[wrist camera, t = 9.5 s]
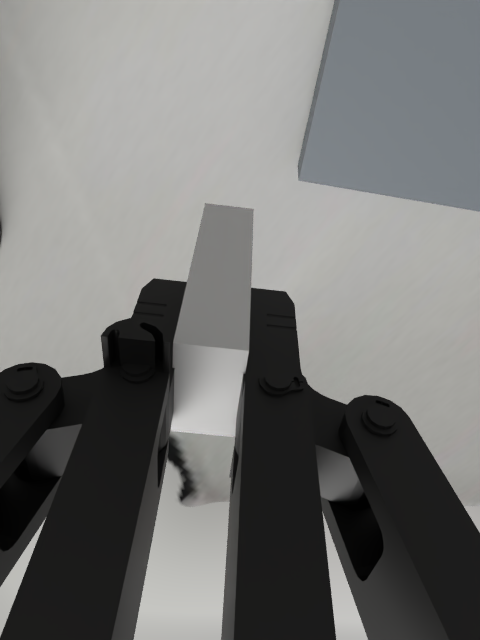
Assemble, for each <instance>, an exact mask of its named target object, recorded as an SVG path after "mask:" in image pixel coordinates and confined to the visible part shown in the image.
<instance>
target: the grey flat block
mask: <svg viewBox="0 0 480 640" xmlns="http://www.w3.org/2000/svg"><path fill="white" fill-rule="evenodd" d="M298 178H299V181H304V182H310V183H316V184H322V185H328V186H334V187H339V188H345V189H351V190H357V191H363V192H369V193H375V194H380V195H386V196H392V197H398V198H404V199H410V200H415V201H421V202H427V203H433V204H439V205H445V206H451V207H456V208H462V209H468V210H474V211H480V0H335V2H334V7H333V11H332V15H331V20H330V24H329V29H328V33H327V38H326V42H325V47H324V51H323V56H322V60H321V65H320V69H319V74H318V78H317V82H316V87H315V91H314V96H313V100H312V105H311V109H310V114H309V118H308V123H307V127H306V132H305V136H304V141H303V145H302V149H301V154H300V158H299V163H298Z"/></svg>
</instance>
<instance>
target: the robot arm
mask: <svg viewBox="0 0 480 640" xmlns="http://www.w3.org/2000/svg"><path fill="white" fill-rule="evenodd" d="M253 210H254V209H249V208H241V207H232V206H223V205H215V204H206V203H205V207H204V211H203V216H202V220H201V224H200V229H199V233H198V237H197V242H196V246H195V250H194V255H193V259H192V263H191V267H190V272H189V276H188V280H187V282H181V281H172V280H163V279H153V280H152V281H150V282H149V283H148V284H147V285H146V286H144V287H143V288H142V290H141V293H140V295H139V298H138V301H137V304H136V306H135V309H134V313H133V315H132V317H131V318H129V319H125V320H122V321H118V322H116V323H114V324H112V325H111V326H109V327H107V328H106V330H105V331H104V332H103V334H102V335H101V342H102V351H103V361H104V368H102V369H100V370H98V371H95V372H93V373H88V374H84V375H78V376H71V377H64V378H61V377H60V375H59V374H58V372H57V371H56V370H55V369H54V368H52V367H50V366H48V365H46V364H41V363H33V362H32V363H24V364H18V365H15V366H12V367H10V368H7V369H5V370H3V371H2V372H0V586H1V585H2V583H3V582H4V580H5V579H6V577H7V576H8V574H9V573H10V571H11V570H12V568H13V567H14V565H15V564H16V562H17V561H18V559H19V558H20V556H21V555H22V553H23V551H24V550H25V549H26V547H27V545H28V544H29V542H30V541H31V539H32V538H33V536H34V535H35V533H36V532H37V530H38V529H39V527H40V526H41V524H42V522H43V521H44V520H45V518H46V520H45V523H44V525H43V528H42V530H41V533H40V535H39V538H38V541H37V543H36V546H35V548H34V551H33V554H32V556H31V559H30V561H29V565H28V567H27V570H26V572H25V574H24V577H23V580H22V583H21V585H20V587H19V590H18V593H17V595H16V598H15V601H14V603H13V606H12V608H11V611H10V614H9V616H8V619H7V621H6V624H5V627H4V629H3V632H2V634H1V637H0V640H133V639H134V634H135V628H136V623H137V618H138V612H139V607H140V602H141V596H142V591H143V585H144V580H145V575H146V569H147V564H148V559H149V553H150V547H151V543H152V537H153V532H154V526H155V520H156V516H157V510H158V505H159V500H160V494H161V488H162V484H163V478H164V473H165V467H166V462H167V457H168V446H169V433H170V428H171V431H177V432H187V433H198V434H208V435H218V436H229V437H235V446H234V452H233V458H232V464H231V470H230V477H231V491H230V507H229V523H228V540H227V556H226V573H225V589H224V604H223V620H222V621H223V622H222V637H221V640H336V634H335V625H334V616H333V607H332V598H331V588H330V579H329V569H328V560H327V551H326V542H325V532H324V523H323V514H322V511H323V513H324V516H325V519H326V522H327V525H328V528H329V530H330V533H331V536H332V539H333V542H334V544H335V547H336V550H337V553H338V556H339V559H340V561H341V564H342V567H343V569H344V573H345V575H346V578H347V581H348V584H349V587H350V589H351V592H352V595H353V597H354V601H355V603H356V606H357V609H358V612H359V615H360V617H361V620H362V623H363V626H364V629H365V632H366V634H367V637H368V640H480V533H479V531H478V529H477V528H476V526H475V525H474V523H473V521H472V519H471V518H470V516H469V515H468V513H467V511H466V510H465V508H464V506H463V505H462V503H461V501H460V500H459V498H458V496H457V495H456V493H455V492H454V490H453V488H452V487H451V485H450V483H449V482H448V480H447V478H446V477H445V475H444V473H443V472H442V470H441V469H440V467H439V465H438V464H437V462H436V460H435V459H434V457H433V455H432V454H431V452H430V450H429V449H428V447H427V445H426V444H425V442H424V441H423V439H422V437H421V436H420V434H419V432H418V431H417V429H416V427H415V426H414V424H413V422H412V421H411V419H410V418H409V416H408V415H407V414H406V413H405V412H404V411H403V409H402V408H401V407H399V406H398V405H396V404H395V403H393V402H392V401H390V400H387V399H385V398H382V397H379V396H371V395H364V396H360V397H356V398H354V399H353V400H352V401H351V402H350V403H349V404H348V405H346V404H343V403H341V402H338V401H335V400H332V399H330V398H327V397H325V396H323V395H321V394H319V393H318V392H316V391H315V390H314V389H312V388H311V387H310V386H309V385H308V383H307V381H306V378H305V377H304V376H303V375H302V373H301V369H300V358H299V348H298V337H297V330H296V328H297V327H296V319H295V317H296V316H295V306H294V303H293V301H292V300H291V299H290V297H289V296H288V294H287V293H286V292H284V291H275V290H266V289H257V288H251V272H252V241H253ZM0 240H1V227H0Z"/></svg>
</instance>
